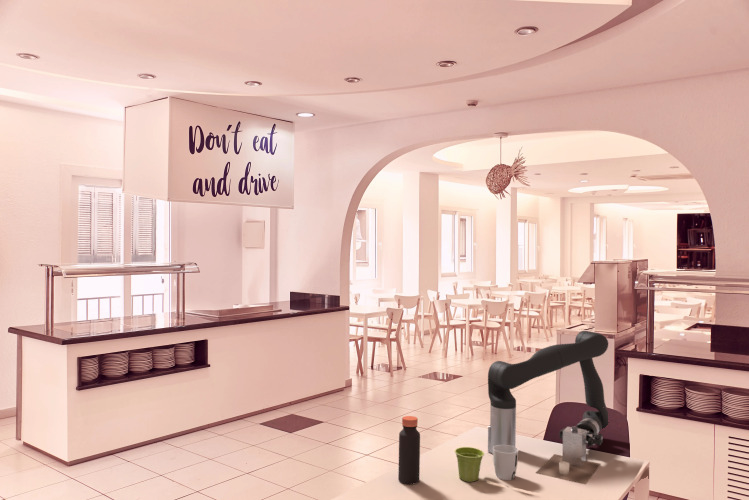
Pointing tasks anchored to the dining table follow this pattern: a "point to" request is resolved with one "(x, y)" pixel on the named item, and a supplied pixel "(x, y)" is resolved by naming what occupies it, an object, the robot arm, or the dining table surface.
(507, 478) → the cup
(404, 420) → the bottle
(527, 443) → the dining table surface
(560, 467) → the beige cylinder
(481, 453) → the plant pot
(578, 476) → the walnut board
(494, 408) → the robot arm
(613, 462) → the dining table surface
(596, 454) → the dining table surface
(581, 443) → the steel cover
